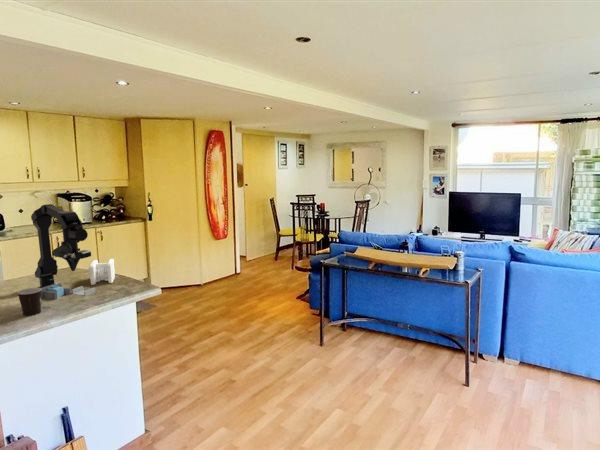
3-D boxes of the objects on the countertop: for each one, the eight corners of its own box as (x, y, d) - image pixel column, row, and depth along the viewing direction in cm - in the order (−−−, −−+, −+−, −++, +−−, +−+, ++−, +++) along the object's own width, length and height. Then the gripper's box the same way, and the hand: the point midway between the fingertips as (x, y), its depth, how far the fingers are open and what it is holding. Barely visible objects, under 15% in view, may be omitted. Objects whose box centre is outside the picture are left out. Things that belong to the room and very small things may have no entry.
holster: (72, 295, 205) (71, 289, 205) (82, 291, 211) (81, 286, 210) (85, 297, 202) (85, 291, 202) (95, 293, 208) (95, 287, 207)
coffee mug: (27, 309, 186) (24, 288, 184) (47, 309, 187) (45, 287, 185) (11, 320, 174) (8, 296, 173) (33, 319, 175) (30, 296, 174)
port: (36, 300, 198) (34, 288, 198) (58, 292, 210) (57, 281, 209) (52, 302, 195) (51, 291, 194) (74, 294, 206) (73, 284, 205)
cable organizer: (112, 285, 221) (110, 264, 219) (89, 287, 218) (88, 265, 216) (115, 277, 235) (114, 257, 233) (94, 279, 232) (93, 258, 230)
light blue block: (48, 298, 201) (47, 286, 200) (55, 295, 205) (54, 284, 204) (57, 299, 199) (56, 288, 198) (64, 297, 203) (63, 285, 202)
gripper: (40, 240, 194) (43, 273, 197) (70, 243, 188) (73, 277, 190) (61, 236, 204) (64, 267, 207) (90, 238, 198) (93, 271, 201)
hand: (73, 270), depth 201 cm, fingers closed
